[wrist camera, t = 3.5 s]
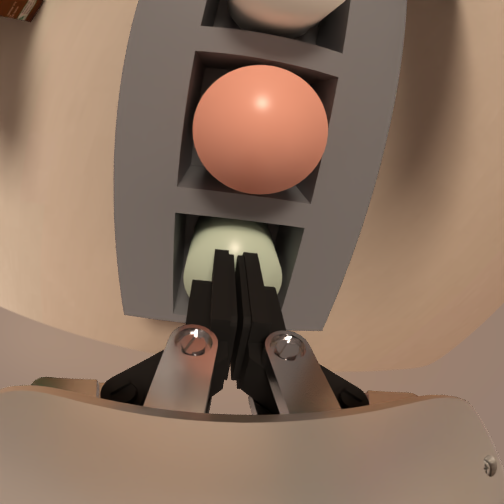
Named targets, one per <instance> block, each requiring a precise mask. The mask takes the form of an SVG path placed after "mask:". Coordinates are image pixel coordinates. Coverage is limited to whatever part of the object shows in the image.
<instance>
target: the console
mask: <svg viewBox="0 0 504 504" xmlns="http://www.w3.org/2000/svg"><path fill="white" fill-rule="evenodd" d="M406 11H407V0H345V1H344V2H343V3H342V4H341V5H339V6H338V7H337V8H336V9H334V10H333V11H332V12H331V13H329V14H328V15H327V16H326V17H324V18H323V19H322V20H321V21H320V22H318V23H317V24H316V25H315V26H314V27H313V28H311V29H310V30H309V31H308V32H307V33H305V34H303V35H302V36H299V37H297V38H294V39H289V38H285V37H280V36H275V35H270V34H265V33H259V32H253V31H246V30H243V29H241V28H240V27H239V26H238V25H237V24H236V23H235V22H234V20H233V19H232V17H231V16H230V13H229V10H228V2H227V0H139V1H138V4H137V8H136V11H135V15H134V19H133V23H132V27H131V31H130V36H129V40H128V45H127V50H126V55H125V60H124V66H123V72H122V78H121V85H120V93H119V101H118V110H117V120H116V133H115V150H114V223H115V240H116V253H117V264H118V273H119V282H120V290H121V297H122V304H123V311H124V315H129V316H136V317H142V318H150V319H157V320H165V321H173V322H182V323H186V317H187V310H188V304H189V296H188V294H187V292H186V289H185V286H184V279H183V276H184V269H185V265H186V261H187V256H188V252H189V248H190V244H191V240H192V236H193V232H194V228H195V225H196V223H197V221H198V219H199V218H200V216H201V215H203V216H212V217H221V218H230V219H238V220H247V221H255V222H263V223H267V226H268V229H269V232H270V235H271V238H272V241H273V244H274V248H275V251H276V254H277V257H278V260H279V264H280V267H281V270H282V283H281V287H280V290H279V292H278V294H277V295H278V299H279V303H280V307H281V311H282V315H283V319H284V323H285V327H286V330H298V331H322V330H323V327H324V325H325V323H326V320H327V318H328V316H329V313H330V311H331V309H332V306H333V304H334V301H335V299H336V297H337V294H338V292H339V289H340V287H341V284H342V281H343V279H344V276H345V274H346V271H347V268H348V266H349V263H350V260H351V257H352V255H353V252H354V249H355V246H356V243H357V241H358V238H359V235H360V232H361V229H362V226H363V223H364V219H365V216H366V213H367V210H368V207H369V204H370V200H371V197H372V194H373V190H374V187H375V183H376V180H377V176H378V172H379V169H380V165H381V161H382V157H383V153H384V149H385V145H386V141H387V136H388V132H389V128H390V123H391V118H392V113H393V108H394V103H395V98H396V92H397V87H398V81H399V74H400V68H401V61H402V53H403V45H404V35H405V24H406ZM253 65H268V66H275V67H279V68H282V69H285V70H287V71H290V72H292V73H294V74H296V75H297V76H299V77H300V78H302V79H303V80H304V81H306V82H307V83H308V84H309V85H310V86H311V87H312V88H313V90H314V91H315V92H316V94H317V95H318V97H319V98H320V100H321V102H322V104H323V107H324V109H325V112H326V116H327V122H328V138H327V144H326V147H325V151H324V153H323V155H322V157H321V159H320V161H319V163H318V164H317V166H316V167H315V168H314V170H313V171H312V172H311V173H310V174H309V175H308V176H307V177H306V178H305V179H303V180H302V181H301V182H300V183H298V184H296V185H294V186H293V187H291V188H288V189H286V190H284V191H280V192H277V193H271V194H249V193H244V192H240V191H237V190H234V189H232V188H230V187H228V186H226V185H224V184H223V183H221V182H220V181H218V180H217V179H216V178H215V177H213V176H212V175H211V173H210V172H209V171H208V170H207V169H206V168H205V166H204V165H203V163H202V162H201V160H200V158H199V156H198V154H197V151H196V148H195V145H194V140H193V120H194V115H195V111H196V108H197V106H198V103H199V102H200V100H201V98H202V96H203V95H204V93H205V92H206V91H207V89H208V88H209V87H210V86H211V85H212V84H213V83H214V82H215V81H217V80H218V79H219V78H220V77H222V76H224V75H225V74H227V73H229V72H231V71H233V70H236V69H238V68H242V67H246V66H253Z"/></svg>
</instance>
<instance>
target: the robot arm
mask: <svg viewBox="0 0 504 504" xmlns="http://www.w3.org/2000/svg"><path fill="white" fill-rule="evenodd" d="M230 363H231V380H237V389H241V390H243V391H244V392H245V393H246V394H248V395H249V397H248V398H249V405H250V408H251V412H252V415H226V414H209V410H210V405H211V399H212V396H213V395H215V394H216V393H218V392H219V391H220V390H221V389H223V383H224V380H227V378H228V372H229V367H230ZM0 504H504V469H503V466H502V463H501V461H500V458H499V455H498V453H497V450H496V448H495V446H494V444H493V442H492V439H491V437H490V435H489V433H488V431H487V429H486V427H485V425H484V423H483V422H482V420H481V418H480V417H479V415H478V413H477V412H476V411H475V409H474V408H473V406H472V405H471V404H470V403H468V402H467V401H466V400H464V399H461V398H458V397H454V396H448V395H425V396H417V395H415V394H413V393H406V392H384V391H370V390H369V391H367V392H366V393H364V392H363V391H362V390H361V389H359V388H358V387H356V386H354V385H353V384H351V383H349V382H348V381H346V380H344V379H343V378H341V377H339V376H338V375H336V374H335V373H333V372H331V371H330V370H328V369H326V368H325V367H323V366H322V365H320V364H319V363H318V361H317V359H316V357H315V355H314V353H313V351H312V349H311V347H310V345H309V344H308V342H307V341H306V339H304V338H303V337H302V336H301V335H299V334H297V333H295V332H291V331H286V327H285V323H284V319H283V315H282V311H281V307H280V303H279V299H278V295H277V291H276V288H275V287H270V286H264V282H263V277H262V272H261V267H260V263H259V258H258V254H257V253H249V252H243V255H238V256H237V262H236V268H235V265H234V254H229V250H221V249H215V254H214V263H213V272H212V281H204V280H194V279H193V280H192V285H191V291H190V297H189V304H188V310H187V317H186V324H185V325H183V326H181V327H178V328H177V329H175V330H174V331H173V332H172V334H171V335H170V337H169V340H168V342H167V345H166V347H165V349H164V350H163V351H161V352H159V353H157V354H155V355H153V356H152V357H150V358H148V359H146V360H144V361H142V362H140V363H139V364H137V365H135V366H133V367H131V368H129V369H127V370H125V371H124V372H122V373H120V374H118V375H116V376H114V377H112V378H110V379H109V380H108V381H106V382H105V383H98V381H97V380H96V379H68V378H53V377H41V378H39V379H37V380H35V381H34V382H33V383H32V384H31V385H19V386H10V387H6V388H2V389H0Z"/></svg>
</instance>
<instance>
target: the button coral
mask: <svg viewBox="0 0 504 504" xmlns="http://www.w3.org/2000/svg"><path fill="white" fill-rule="evenodd" d="M327 138H328V122H327V116H326V112H325V109H324V107H323V104H322V102H321V100H320V98H319V97H318V95H317V94H316V92H315V91H314V90H313V88H312V87H311V86H310V85H309V84H308V83H307V82H306V81H304V80H303V79H302V78H300V77H299V76H297V75H296V74H294V73H292V72H290V71H287V70H285V69H282V68H279V67H275V66H268V65H253V66H246V67H242V68H238V69H236V70H233V71H231V72H229V73H227V74H225V75H224V76H222V77H220V78H219V79H218V80H217V81H215V82H214V83H213V84H212V85H211V86H210V87H209V88H208V89H207V91H206V92H205V93H204V95H203V96H202V98H201V100H200V102H199V103H198V106H197V108H196V111H195V115H194V120H193V140H194V145H195V148H196V151H197V154H198V156H199V158H200V160H201V162H202V163H203V165H204V166H205V168H206V169H207V170H208V171H209V172H210V173H211V175H212V176H213V177H215V178H216V179H217V180H218V181H220V182H221V183H223V184H224V185H226V186H228V187H230V188H232V189H234V190H237V191H240V192H244V193H249V194H271V193H277V192H280V191H284V190H286V189H288V188H291V187H293V186H294V185H296V184H298V183H300V182H301V181H302V180H303V179H305V178H306V177H307V176H308V175H309V174H310V173H311V172H312V171H313V170H314V168H315V167H316V166H317V164H318V163H319V161H320V159H321V157H322V155H323V153H324V151H325V147H326V144H327Z"/></svg>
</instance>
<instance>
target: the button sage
mask: <svg viewBox="0 0 504 504" xmlns="http://www.w3.org/2000/svg"><path fill="white" fill-rule="evenodd" d="M215 249H221V250H229V254H234V265H235V268H236V262H237V256H238V255H243V252H249V253H257V254H258V258H259V263H260V267H261V272H262V277H263V282H264V286H270V287H275V288H276V291H277V294H278V292H279V290H280V287H281V283H282V270H281V267H280V264H279V260H278V257H277V254H276V251H275V248H274V244H273V241H272V238H271V235H270V232H269V229H268V226H267V223H263V222H255V221H247V220H238V219H230V218H221V217H212V216H203V215H201V216H200V218H199V219H198V221H197V223H196V225H195V228H194V232H193V236H192V240H191V244H190V248H189V252H188V256H187V261H186V265H185V269H184V276H183V279H184V286H185V289H186V292H187V294H188V296H189V297H190V291H191V285H192V280H193V279H194V280H204V281H212V272H213V263H214V254H215Z"/></svg>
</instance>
